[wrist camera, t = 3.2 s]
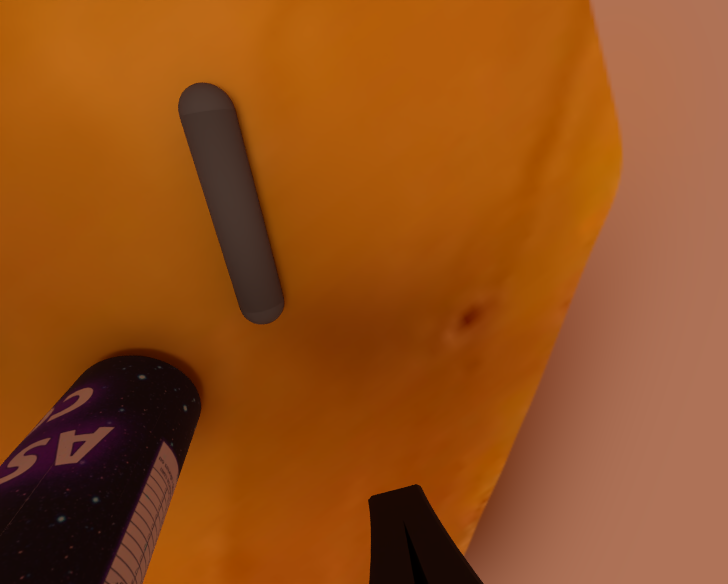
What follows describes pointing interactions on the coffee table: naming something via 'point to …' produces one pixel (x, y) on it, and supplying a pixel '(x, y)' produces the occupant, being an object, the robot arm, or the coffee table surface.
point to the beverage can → (97, 476)
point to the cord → (232, 199)
